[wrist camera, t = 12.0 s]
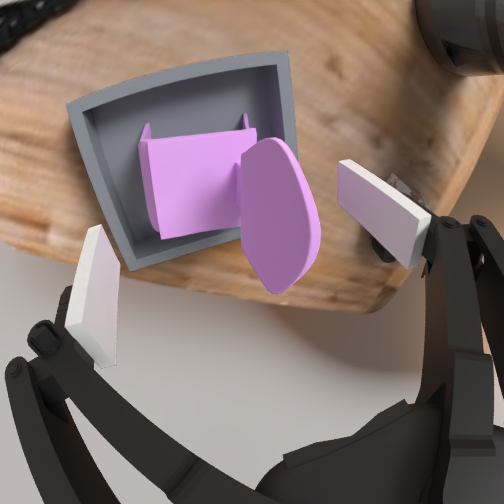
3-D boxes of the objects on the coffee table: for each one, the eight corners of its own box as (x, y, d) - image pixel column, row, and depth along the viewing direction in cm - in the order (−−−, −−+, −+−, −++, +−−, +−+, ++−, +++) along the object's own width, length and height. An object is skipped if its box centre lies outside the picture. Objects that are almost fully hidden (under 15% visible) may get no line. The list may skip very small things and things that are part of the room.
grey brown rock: (386, 238, 43) (344, 241, 38) (426, 180, 36) (389, 171, 31) (412, 270, 39) (372, 280, 34) (458, 213, 32) (428, 210, 27)
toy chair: (138, 111, 20) (119, 177, 9) (247, 101, 22) (359, 154, 11) (149, 205, 25) (162, 344, 13) (246, 191, 27) (328, 306, 16)
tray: (268, 51, 21) (287, 50, 18) (284, 201, 30) (301, 220, 27) (78, 98, 18) (65, 104, 15) (130, 246, 28) (130, 271, 25)
